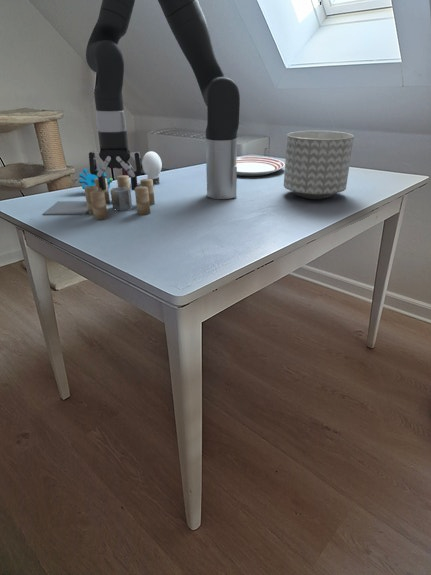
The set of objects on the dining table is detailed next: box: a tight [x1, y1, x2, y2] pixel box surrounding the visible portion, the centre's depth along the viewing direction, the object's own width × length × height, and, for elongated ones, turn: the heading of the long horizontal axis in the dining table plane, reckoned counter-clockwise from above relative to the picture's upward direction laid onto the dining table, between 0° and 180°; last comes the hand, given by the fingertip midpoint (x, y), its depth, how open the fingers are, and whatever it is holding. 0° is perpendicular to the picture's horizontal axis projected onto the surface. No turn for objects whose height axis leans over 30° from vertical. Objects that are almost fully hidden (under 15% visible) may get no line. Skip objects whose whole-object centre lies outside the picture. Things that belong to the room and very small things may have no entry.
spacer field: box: [83, 174, 156, 221], centre depth 113 cm, size 18×22×7 cm
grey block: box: [110, 186, 133, 212], centre depth 113 cm, size 5×6×6 cm
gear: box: [78, 168, 114, 190], centre depth 130 cm, size 11×6×10 cm
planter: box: [283, 130, 355, 200], centre depth 119 cm, size 19×19×18 cm
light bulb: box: [141, 150, 163, 186], centre depth 137 cm, size 7×7×11 cm
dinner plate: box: [236, 156, 285, 177], centre depth 157 cm, size 27×27×3 cm
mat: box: [42, 200, 89, 216], centre depth 114 cm, size 12×12×1 cm
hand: (118, 189), depth 112 cm, fingers open, 8 cm apart
